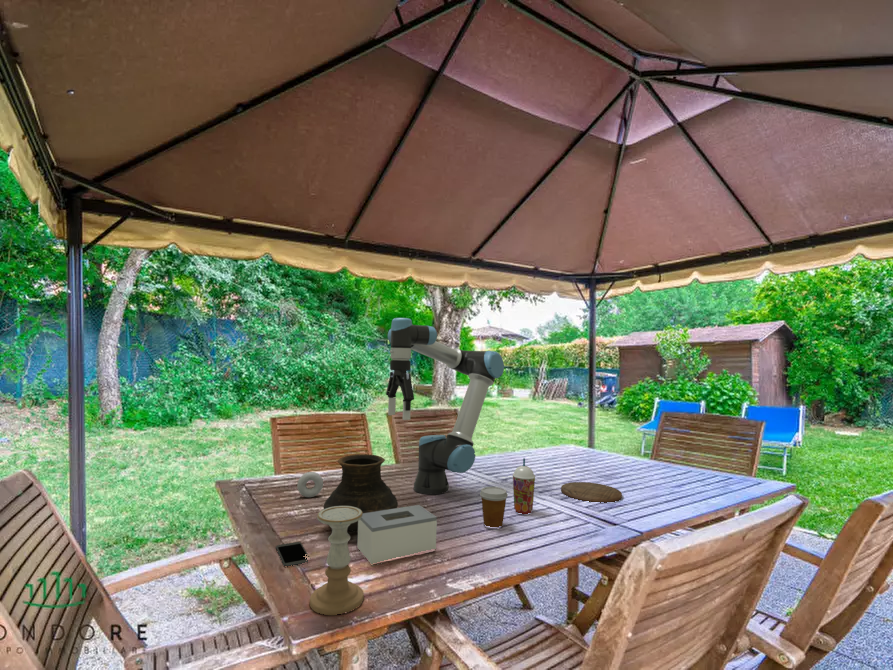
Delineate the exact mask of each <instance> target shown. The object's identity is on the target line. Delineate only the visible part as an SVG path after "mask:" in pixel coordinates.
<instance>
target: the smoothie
mask: <svg viewBox="0 0 893 670" xmlns="http://www.w3.org/2000/svg"><path fill="white" fill-rule="evenodd" d="M522 461H523V463H522V464H523V465H520V466H518V467H517V468H516V469H515V470H514V472H513V474H512V484H513V485H512V487H513V488H512V489H513V491H512V492H513V508H514V510H515V513H516V512H518V513H522V514H528V513H531V514H532V511H533V510H534V509H533V508H534V507H533V506H534V495H535V484H536V483H535V482H536V475H535V473H534V471H533V470H532V469H531V467H529V466H528V465H526V458H525V457H523V459H522Z"/></svg>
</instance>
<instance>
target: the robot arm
mask: <svg viewBox="0 0 893 670" xmlns="http://www.w3.org/2000/svg"><path fill="white" fill-rule="evenodd" d="M387 332H388V333H387V339H388V342H389V343H390V350H389V353H390V359H391V360H390V362H389V367H390V368H389V369H390V372H389V378H388V379H389V380H388V384H387V388H386V393H385V394H386V396H387V398H388V400H387V401H388V406H387V415H388V416H396V408H397V407H396V404H397V402H396V401H397V399H396V398H397V395H396V394H397V392H398V390H399V387H400V390H401V394H402V396H403V399H402V420H403V421H410V420H411V414H412V413H411V409H412V408H411V407H412V401H414V400H415V396H414V395H415V394H414V389H413V384H412V374H411V372H408V373H407V371H410V370H411V360H410V359H412V357H411V356H412V351H414V352H415V353H416V352H417V353H419V354H420V355H424V356H426V357H428V358H430V359H433V360H436V361H438V362H440V363H443V364H445V365H446V367H447V368H449V369H451V370H453V371H455V372H459V373H460V374H462V375H465V376H468V379H469V383H468V386H467V389H466V391H465V395H464V397H463V400H462V403H461V406H460V408H459V411H458V415H457V417H456V421H455V422H454V426H453V429H452V431H451V432H449V433H447V436H446V435H445V434H434V435H433V434H430V435H424V436H421V437H420V438H419V442H418V466H417V467H418V468H417V469H418V471H417V474H416V477H415V480H414V483H413V491H415V492H416V493H418V494H424V495H440V494H441V495H442V494H445V493H447V492H449V490H450V488H449V487H450V484H449V481H448V477H447V474H446V473H447V472H446V471H448V472H449V471H450V472H452V473H458V474H463V473H466V472H468V471H470V469H471V468H472V466H473V465H474V464H475V460H476V454H475V453H476V451H475V448H474V445H475V444H474V441H473V439H472V438H473V435H474V433H475V429H476V426H477V423H478V420H479V417H480V414H481V412H482V408H483V406H484V403H485V399H486V396H487V393H488V390H489V387H490V386H493V385H494V383H495V381H496V379H498V378H500V377H502V376H503V373H504V370H505V364H504V362H505V361H504V359H503V357H502V356H501V354H500V353H499V352H497V351H493V350H463V349H460V348H456V347H455V348H452V347H450V346H447V345H445V344H443V343H441V342H439V341H437V338H438V332H437V329H436V328H435V327H434V326H430V325H427V324H426V325H422V324H421V325H420V324H413V321H412V319H411V318H407V317H395V318H393V319H392V320H391V325H390V329H389V330H388V331H387Z"/></svg>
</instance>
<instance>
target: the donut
mask: <svg viewBox="0 0 893 670" xmlns="http://www.w3.org/2000/svg"><path fill="white" fill-rule="evenodd" d="M310 481H312V482H314V485H313V486H312V487H311V488H308V487H307V483H308V482H310ZM296 486H297V487H296V488H297V491H298V492H299V493H298V494H300V495H301V496H302V497H305V498H313V497H316V496H317V495H319V494H320V493H321V491H322V489H323V487H324V480H323V477H322V476H321V474H319V473H318V472H315V471H308V472H305V473H303V474H302V475H301V476H300V477H299V479H298V480H297V484H296Z"/></svg>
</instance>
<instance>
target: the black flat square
mask: <svg viewBox="0 0 893 670" xmlns="http://www.w3.org/2000/svg"><path fill="white" fill-rule="evenodd" d="M276 549H277V550H276ZM275 550H276V552H277V551H278V552H277V555H278V554H279V555H278V557H279V556H280V557H279V559H280V558H281V559H280V561H281V560H282V562H281V564H282V563H283V564H282V566H283V565H284V566H291V565H292V566H293V565H297V566H299V565H298V564H302V563H305V562H308V560H307V558H306V559H305V557H303V556H305V554H308V552H307V550H306V548H305V547H304V545H303V543H302V542H301V541H294V542H287V543H281V544H278V545H275ZM306 556H307V555H306ZM308 557H310V556H308ZM306 560H307V561H306ZM302 565H303V564H302ZM284 566H283V567H284ZM293 567H294V566H293Z"/></svg>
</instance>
